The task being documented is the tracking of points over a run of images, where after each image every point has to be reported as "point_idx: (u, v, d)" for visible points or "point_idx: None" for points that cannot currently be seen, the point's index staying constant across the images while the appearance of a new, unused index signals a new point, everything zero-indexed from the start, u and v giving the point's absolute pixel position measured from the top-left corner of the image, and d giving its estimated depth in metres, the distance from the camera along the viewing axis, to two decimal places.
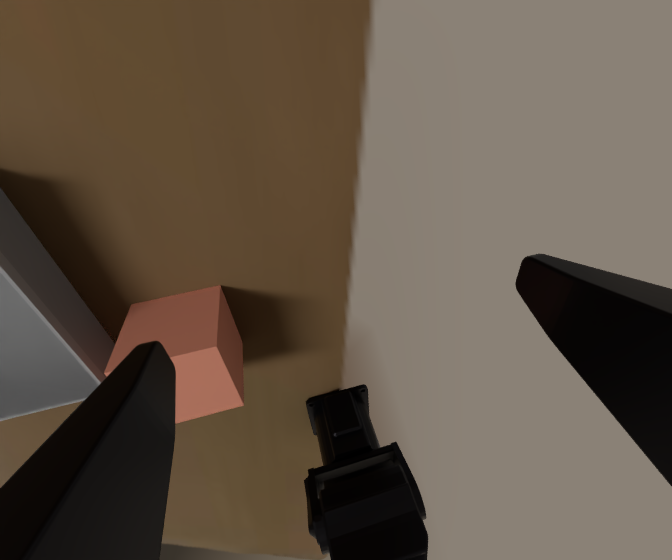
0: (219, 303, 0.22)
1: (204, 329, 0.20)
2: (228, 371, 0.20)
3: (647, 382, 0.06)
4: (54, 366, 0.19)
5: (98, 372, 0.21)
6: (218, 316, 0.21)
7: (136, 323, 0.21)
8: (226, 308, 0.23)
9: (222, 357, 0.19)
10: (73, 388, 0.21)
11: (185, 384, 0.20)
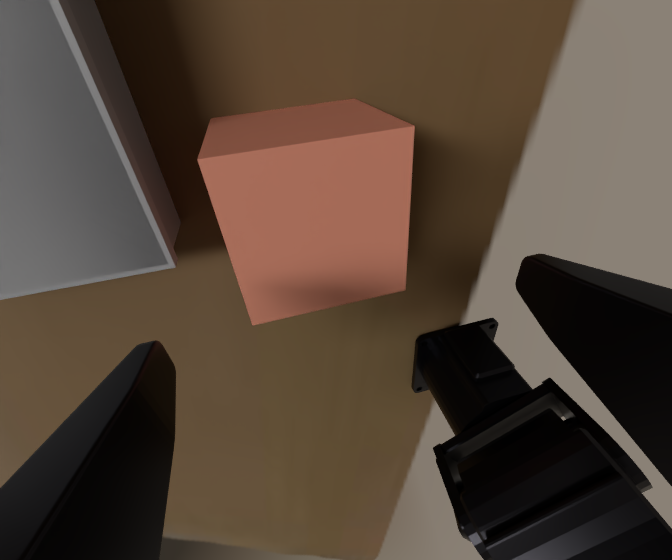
0: None
1: (368, 119, 0.10)
2: (408, 204, 0.11)
3: (647, 382, 0.06)
4: (85, 185, 0.10)
5: (159, 220, 0.12)
6: (382, 112, 0.11)
7: (233, 126, 0.11)
8: None
9: None
10: (113, 246, 0.11)
11: (334, 221, 0.10)
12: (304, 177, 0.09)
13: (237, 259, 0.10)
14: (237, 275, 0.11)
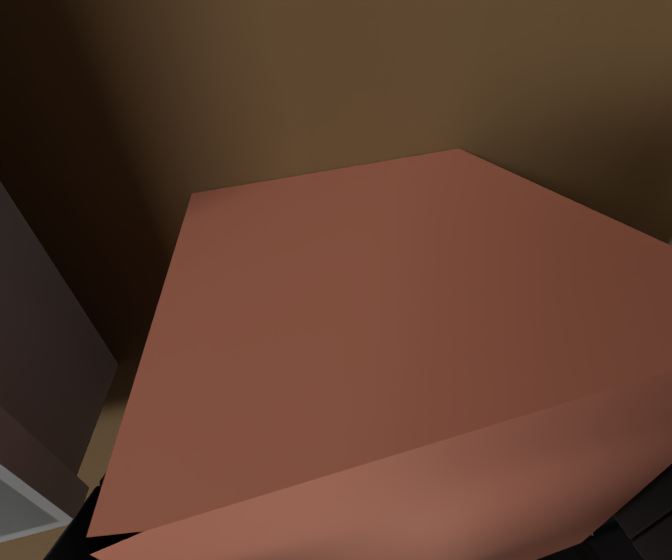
0: None
1: (590, 247, 0.04)
2: None
3: None
4: None
5: (32, 452, 0.05)
6: (582, 208, 0.05)
7: (235, 238, 0.05)
8: None
9: None
10: None
11: (501, 519, 0.04)
12: (465, 483, 0.03)
13: None
14: None
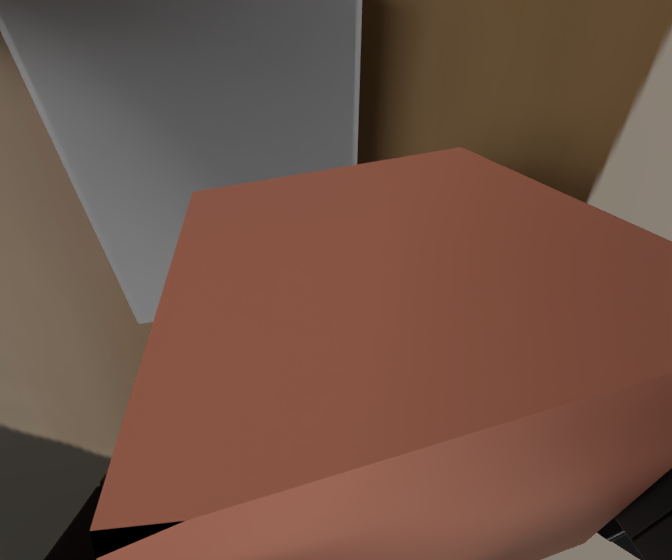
0: None
1: (594, 244, 0.04)
2: None
3: None
4: None
5: None
6: (586, 206, 0.05)
7: (236, 236, 0.05)
8: None
9: None
10: None
11: (506, 520, 0.04)
12: (469, 482, 0.03)
13: None
14: None
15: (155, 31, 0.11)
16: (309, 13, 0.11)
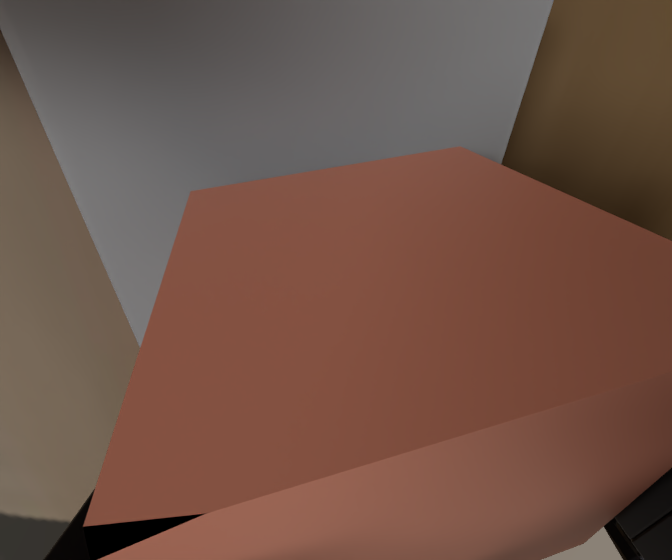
0: None
1: (592, 243, 0.04)
2: None
3: None
4: None
5: None
6: (585, 205, 0.05)
7: (234, 236, 0.05)
8: None
9: None
10: None
11: (504, 521, 0.04)
12: (467, 482, 0.03)
13: None
14: None
15: (255, 61, 0.07)
16: (473, 44, 0.08)
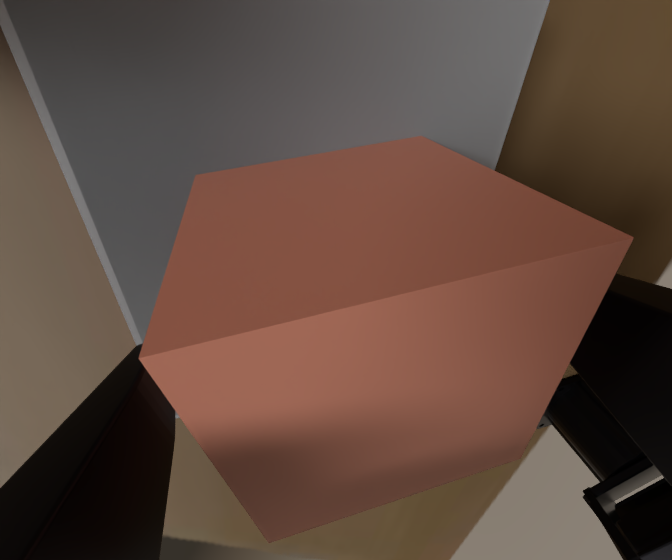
0: None
1: (494, 201, 0.05)
2: None
3: (647, 382, 0.06)
4: None
5: None
6: (502, 176, 0.06)
7: (230, 204, 0.06)
8: None
9: None
10: None
11: (430, 404, 0.05)
12: (386, 351, 0.04)
13: (241, 482, 0.05)
14: (241, 501, 0.06)
15: (254, 61, 0.07)
16: (468, 47, 0.08)
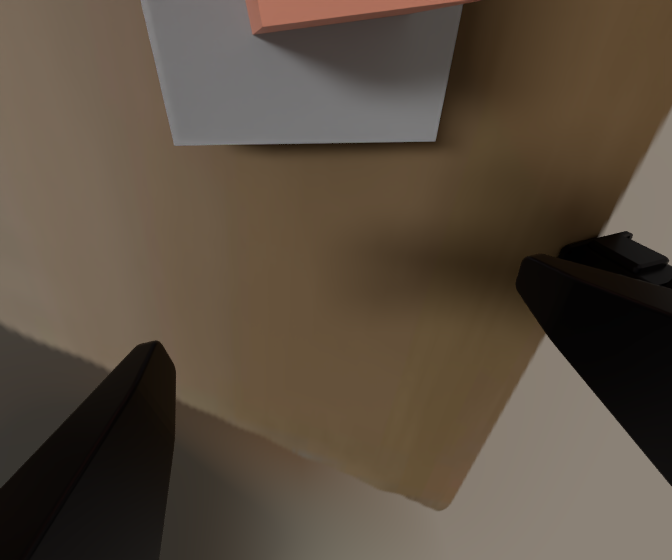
0: None
1: None
2: None
3: (647, 382, 0.06)
4: (420, 50, 0.13)
5: None
6: None
7: None
8: None
9: None
10: (408, 110, 0.14)
11: None
12: None
13: None
14: None
15: None
16: None
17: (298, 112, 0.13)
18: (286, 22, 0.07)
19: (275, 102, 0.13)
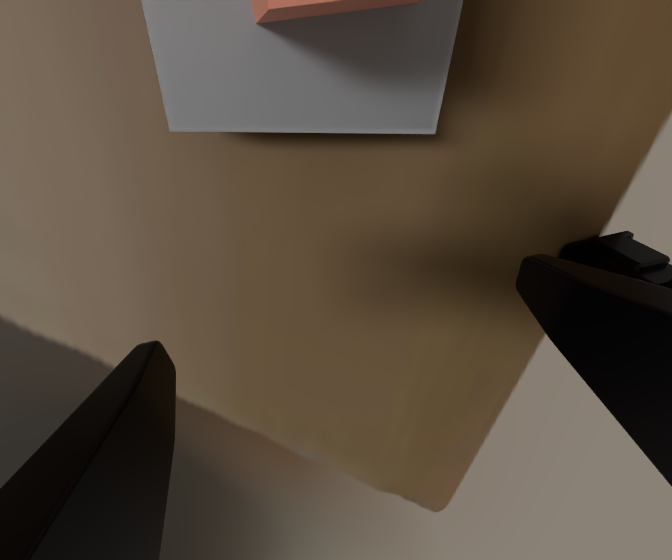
0: None
1: None
2: None
3: (647, 382, 0.06)
4: (420, 40, 0.13)
5: None
6: None
7: None
8: None
9: None
10: (407, 102, 0.14)
11: None
12: None
13: None
14: None
15: None
16: None
17: (297, 99, 0.13)
18: (292, 4, 0.07)
19: (273, 89, 0.13)
